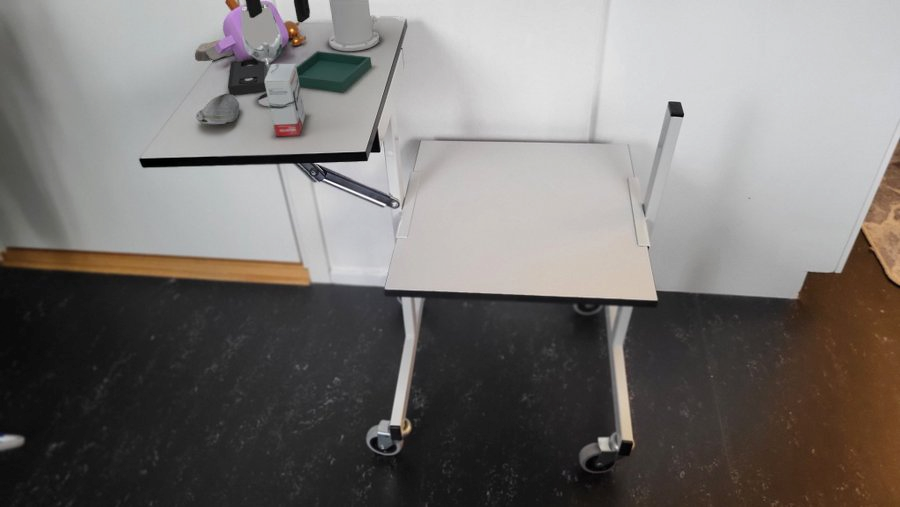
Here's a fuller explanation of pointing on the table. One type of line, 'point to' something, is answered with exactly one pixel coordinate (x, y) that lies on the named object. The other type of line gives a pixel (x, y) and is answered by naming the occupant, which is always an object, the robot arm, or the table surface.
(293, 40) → the figurine
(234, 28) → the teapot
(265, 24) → the wineglass
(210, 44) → the stone
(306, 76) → the tray
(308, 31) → the table surface
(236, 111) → the seashell
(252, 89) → the vhs tape
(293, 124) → the ink box
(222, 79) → the table surface
